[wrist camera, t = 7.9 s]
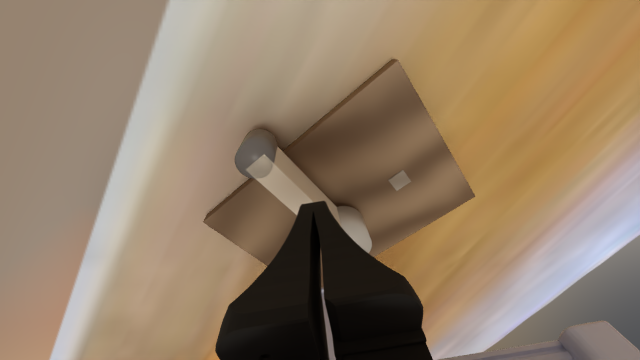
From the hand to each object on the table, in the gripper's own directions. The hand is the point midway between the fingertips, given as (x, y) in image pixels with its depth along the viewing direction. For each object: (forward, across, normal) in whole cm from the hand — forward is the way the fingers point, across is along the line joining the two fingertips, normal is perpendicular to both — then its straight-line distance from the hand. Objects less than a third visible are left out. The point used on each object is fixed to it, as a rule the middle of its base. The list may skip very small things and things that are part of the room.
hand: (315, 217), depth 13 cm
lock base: (+10, -2, +6) cm, 12 cm away
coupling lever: (+8, +1, +3) cm, 9 cm away
